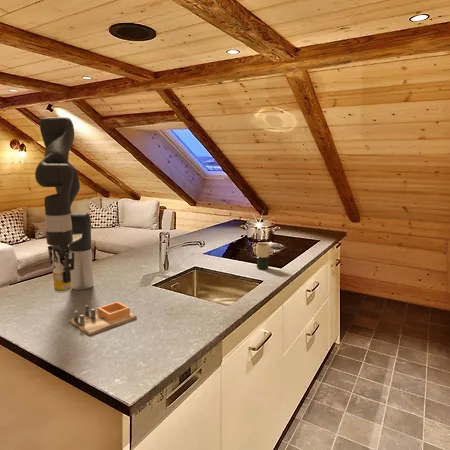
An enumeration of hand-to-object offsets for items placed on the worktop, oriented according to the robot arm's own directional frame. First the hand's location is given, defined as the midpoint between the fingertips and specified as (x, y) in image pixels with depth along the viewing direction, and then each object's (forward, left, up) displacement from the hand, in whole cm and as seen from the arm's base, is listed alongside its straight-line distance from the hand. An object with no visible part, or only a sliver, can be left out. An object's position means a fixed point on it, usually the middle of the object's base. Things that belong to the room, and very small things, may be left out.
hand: (62, 279), depth 117 cm
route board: (0, +13, -18) cm, 23 cm away
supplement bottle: (0, 0, -4) cm, 4 cm away
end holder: (0, +17, -18) cm, 25 cm away
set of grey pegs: (-3, +8, -17) cm, 19 cm away
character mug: (+3, +104, -19) cm, 106 cm away
